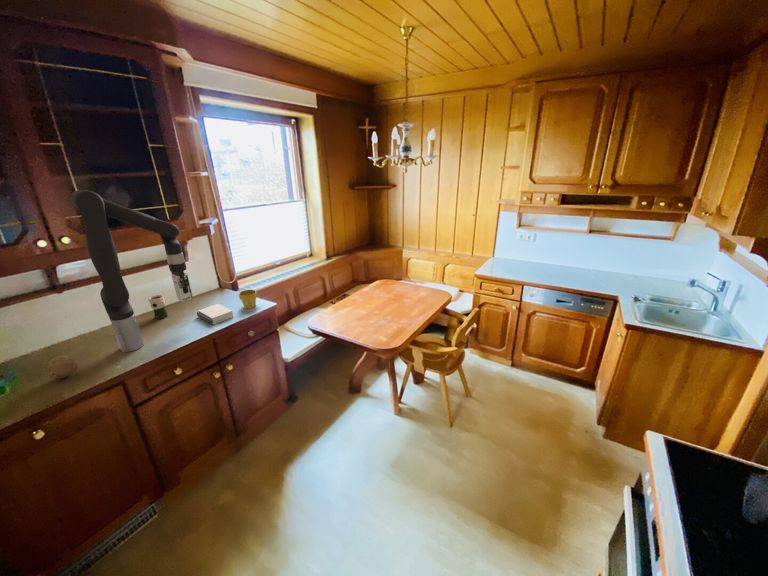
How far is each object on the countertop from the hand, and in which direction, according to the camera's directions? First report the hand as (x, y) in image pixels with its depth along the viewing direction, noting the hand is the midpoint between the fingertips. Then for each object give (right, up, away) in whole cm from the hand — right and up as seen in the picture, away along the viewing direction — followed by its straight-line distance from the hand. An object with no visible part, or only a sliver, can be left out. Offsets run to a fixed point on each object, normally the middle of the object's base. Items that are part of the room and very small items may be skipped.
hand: (183, 291), depth 170 cm
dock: (+8, -15, +19) cm, 25 cm away
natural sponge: (-29, -37, -34) cm, 57 cm away
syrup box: (0, -4, +2) cm, 5 cm away
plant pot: (+22, -10, +32) cm, 40 cm away
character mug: (-24, -16, +17) cm, 33 cm away
